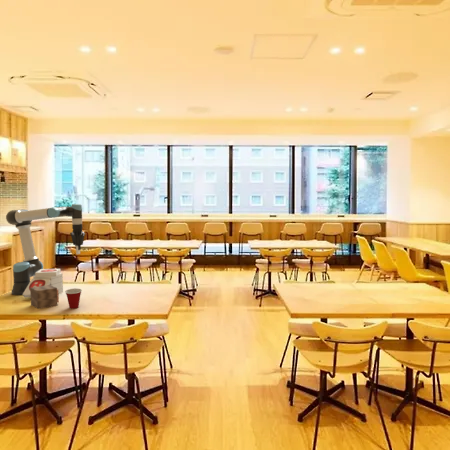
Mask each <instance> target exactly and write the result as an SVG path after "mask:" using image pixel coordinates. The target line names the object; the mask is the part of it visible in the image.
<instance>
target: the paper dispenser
mask: <svg viewBox="0 0 450 450" xmlns="http://www.w3.org/2000/svg"><path fill="white" fill-rule="evenodd" d="M32 277H33V278H30V283H29V284H28V286H27V288H26V289H25V291H24V293H23V294H22V297H24V298H29V299H31V293H30V288H32V287H39V286H45V285H51V286H53V287H56V288H57V289H58V294H62V293H64V282H63V272H61V268H43V269H40V270H39V271H37V272H36V273H35V276H32Z"/></svg>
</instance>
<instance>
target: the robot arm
mask: <svg viewBox="0 0 450 450" xmlns="http://www.w3.org/2000/svg"><path fill="white" fill-rule="evenodd" d="M62 217H71V223H72V226H71V229H72V232H70V233H69V234H70V236H71V242H72V245H74V247H75V253H76V255H81V249H82V245H84V238H85V235H86V233H85V232H84V231H83V229H84V228H83V207H82V204H81V203H73V204H71V206H56V207H55V206H54V207H46V208H39V209H32V210H31V209H30V210H28V209H13V210H9V211H8V212H7V214H6V215H5V219H6V222H7V223H8V224H9V225H13V226H15V228H16V229H17V230H18V234H19V239H20V243H21V249H22V252H23V257H24V259H23V261H20V262H16V263H14V264H13V265H12V275H13V285H12V289H11V295H13V296H14V295H16V296H18V295H19V296H21V295H22V294H23V293H24V291H25V289H26V288H27V286H28V284H29V283H30V281H31V278H32V277H33V276H35V273H36V272H37V271H39V270H40V269H44V264H43V262H42V261H41V260H39V257H38V256H37V254H36V251H35V245H34V241H33V236H32V231H31V226H32V221H34V220H35V221H36V220H43V219H52V218H53V219H55V218H62ZM22 296H23V295H22Z"/></svg>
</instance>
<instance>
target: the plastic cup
mask: <svg viewBox="0 0 450 450" xmlns="http://www.w3.org/2000/svg"><path fill="white" fill-rule="evenodd" d="M82 291H83V290H82V289H81V288H70V289H69V288H68V289H66V290H65V291H64V293H65V295H66V297H67V303H68V306H69V309H70V308H71V310H72V309H78V308H79V306H80V301H81V300H80V299H81V295H82Z"/></svg>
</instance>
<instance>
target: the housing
mask: <svg viewBox="0 0 450 450" xmlns="http://www.w3.org/2000/svg"><path fill="white" fill-rule="evenodd" d="M30 293H31V298H30V305H31V306H32V307H34V308H35V309H37V310H40V309H45V308H49V307H50V308H51V306H52V307H56V306H58V303H57V288H56V287H53V286H51V285H45V286H39V287H32V288H30Z"/></svg>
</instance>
